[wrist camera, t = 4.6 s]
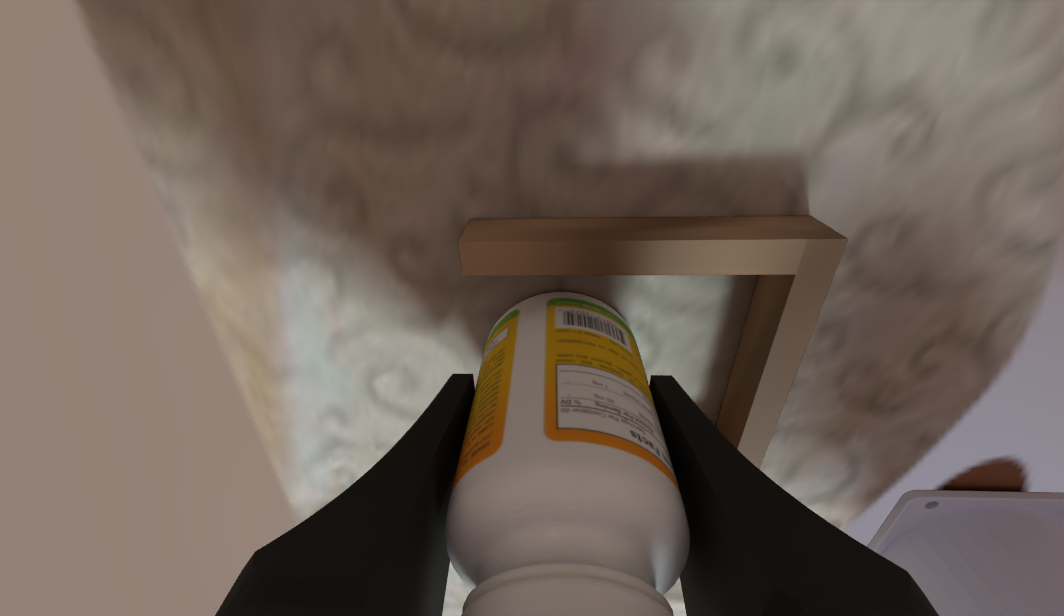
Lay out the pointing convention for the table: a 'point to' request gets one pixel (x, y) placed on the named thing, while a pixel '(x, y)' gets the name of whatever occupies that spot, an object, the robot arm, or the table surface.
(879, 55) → the table surface
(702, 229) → the wooden frame
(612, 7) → the table surface
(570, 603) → the supplement bottle
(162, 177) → the table surface
